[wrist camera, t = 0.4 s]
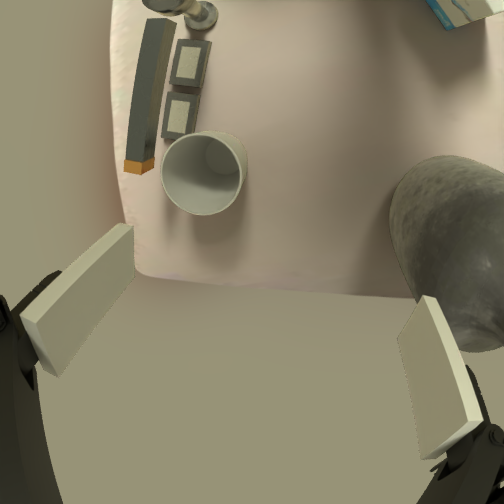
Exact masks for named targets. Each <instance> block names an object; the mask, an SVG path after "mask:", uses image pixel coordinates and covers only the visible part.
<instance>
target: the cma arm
mask: <svg viewBox="0 0 504 504" xmlns="http://www.w3.org/2000/svg"><path fill="white" fill-rule="evenodd" d="M142 2H143V4H144V5H145V6H146V7H147V8H149V9H151V10H153V11H155V12H157V13H159V14H161V15H164V16H170V17H171V16H177V15H180V14H182V13H184V12H186V11H187V10H188V9H189V8H190V7H191V6H192V5H193V3H194V2H195V0H142ZM176 25H177V23H175V22H173V21H171V20H169V19H167V18H152V19H147V21H146V25H145V30H144V34H143V39H142V43H141V48H140V53H139V59H138V64H137V70H136V75H135V82H134V88H133V95H132V102H131V109H130V117H129V126H128V136H127V146H126V159H125V160H124V172H129V173H134V174H139V175H142V174H144V173H145V172H147V171H149V170H151V169H153V168H154V160H155V157H154V153H155V144H156V136H157V129H158V121H159V114H160V108H161V101H162V95H163V89H164V83H165V78H166V72H167V67H168V62H169V57H170V52H171V47H172V43H173V38H174V34H175V29H176Z"/></svg>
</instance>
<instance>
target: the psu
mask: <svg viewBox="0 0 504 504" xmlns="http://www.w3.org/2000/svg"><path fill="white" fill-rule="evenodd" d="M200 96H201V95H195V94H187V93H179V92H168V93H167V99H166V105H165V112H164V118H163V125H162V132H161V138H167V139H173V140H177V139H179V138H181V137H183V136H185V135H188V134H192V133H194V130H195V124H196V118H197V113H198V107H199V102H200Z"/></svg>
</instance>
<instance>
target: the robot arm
mask: <svg viewBox="0 0 504 504" xmlns="http://www.w3.org/2000/svg"><path fill="white" fill-rule="evenodd" d="M134 278H135V265H134V226H131V225H127V224H122V223H118V224H117V225H116V226H115V227H113V228H112V229H111V230H110V231H109V232H107V233H106V234H105V235H104V236H103V237H101V238H100V239H99V240H98V241H97V242H96V243H95V244H93V245H92V246H91V247H90V248H89V249H88V250H86V251H85V252H84V253H83V254H82V255H81V256H80V257H79V258H77V259H76V260H75V261H74V262H73V263H72V264H71V265H70V266H69V267H68V268H67V269H65V270H64V271H63V272H62V271H59V270H58V271H56V272H54V273H52V274H50V275H48V276H47V277H45V278H44V279H43V280H42V281H41V282H40V283H39V285H37V286H36V287H35V288H34V289H33V290H32V291H30V292H29V293H28V294H27V295H26V297H24V298H23V299H22V300H21V301H20V302H19V303H18V304H17V306H15V308H13V309H12V310H11V311H10V310H9V307H8V304H7V302H6V299H5V298H4V297H3V296H2V295H0V504H63V502H62V499H61V496H60V492H59V489H58V486H57V482H56V479H55V475H54V472H53V468H52V464H51V460H50V456H49V451H48V447H47V442H46V437H45V432H44V426H43V421H42V414H41V408H40V401H39V392H38V383H37V372H36V369H35V366H34V365H35V364H36V363H37V361H38V360H39V361H40V363H41V365H42V367H43V370H45V371H47V372H49V373H50V374H52V375H54V376H56V377H58V378H59V377H60V376H61V375H62V373H63V372H64V370H65V369H66V367H67V366H68V364H69V363H70V361H71V360H72V359H73V357H74V356H75V355H76V353H77V352H78V350H79V349H80V347H81V346H82V345H83V344H84V342H85V341H86V340H87V338H88V337H89V335H90V334H91V333H92V331H93V330H94V328H95V327H96V326H97V325H98V323H99V322H100V321H101V320H102V318H103V317H104V315H105V314H106V313H107V312H108V310H109V309H110V308H111V307H112V305H113V304H114V302H115V301H116V300H117V299H118V298H119V296H120V295H121V294H122V293H123V291H124V290H125V289H126V287H127V286H128V285H129V284H130V283H131V281H132V280H133V279H134ZM397 340H398V344H399V348H400V352H401V356H402V360H403V365H404V369H405V374H406V378H407V383H408V387H409V392H410V397H411V402H412V408H413V413H414V419H415V425H416V431H417V438H418V444H419V451H420V459H421V460H424V459H436V458H438V457H439V456H440V455H442V454H443V453H444V452H446V453H447V458H446V459H444V460H443V461H442V462H440V463H439V464H437V465H436V466H434V467H433V468H432V469H431V470H430V472H433V471H434V470H436V469H437V468H438V470H437V472H436V473H435V474H434V477H433V479H432V480H431V482H430V483H429V485H428V487H427V489H426V490H425V491H424V493H423V495H422V496H421V498H420V499H419V501H418V502H417V504H504V487H502V488H500V483H501V482H502V481H504V431H503V430H502V429H501V428H500V427H499V426H498V425H496V424H491V422H490V419H489V416H488V412H487V410H486V406H485V403H484V400H483V397H482V395H481V391H480V389H479V387H478V383H477V380H476V377H475V375H474V373H473V372H472V370H471V369H470V368H469V366H468V365H465V364H464V362H463V359H462V357H461V354H460V352H459V349H458V347H457V344H456V342H455V339H454V337H453V335H452V332H451V330H450V328H449V326H448V323H447V321H446V319H445V317H444V315H443V312H442V310H441V308H440V306H439V304H438V302H437V300H436V298H433V297H429V296H425V295H422V297H421V299H420V301H419V303H418V304H417V306H416V308H415V310H414V311H413V313H412V315H411V317H410V318H409V320H408V322H407V324H406V325H405V327H404V328H403V330H402V332H401V333H400V335H399V336H398V338H397Z"/></svg>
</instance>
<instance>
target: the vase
mask: <svg viewBox="0 0 504 504" xmlns="http://www.w3.org/2000/svg"><path fill="white" fill-rule="evenodd" d="M389 228H390V235H391V240H392V244H393V247H394V250H395V253H396V256H397V258H398V261H399V264H400V267H401V269H402V272H403V274H404V276H405V278H406V281H407V283H408V285H409V287H410V290H411V292H412V294H413V296H414V298H415V300H416V302H417V304H418V303H419V301H420V299H421V297H422V295H425V296H429V297H433V298H436V300H437V302H438V304H439V306H440V308H441V310H442V312H443V315H444V317H445V319H446V321H447V323H448V326H449V328H450V330H451V332H452V335H453V337H454V339H455V342H456V344H457V347H458V349H459V350H461V351H466V352H478V353H479V352H484V351H490V350H495V349H497V348H500V347H502V346H504V174H503V173H502V172H500V171H498V170H496V169H493V168H491V167H489V166H487V165H485V164H482V163H479V162H477V161H474V160H471V159H468V158H464V157H458V156H437V157H433V158H430V159H427V160H425V161H423V162H421V163H419V164H417V165H416V166H415V167H413V168H412V169H411V170H410V171H409V172H408V173H407V174H406V175H405V176H404V178H403V179H402V180H401V182H400V183H399V185H398V187H397V189H396V191H395V193H394V195H393V199H392V202H391V206H390V213H389Z"/></svg>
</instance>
